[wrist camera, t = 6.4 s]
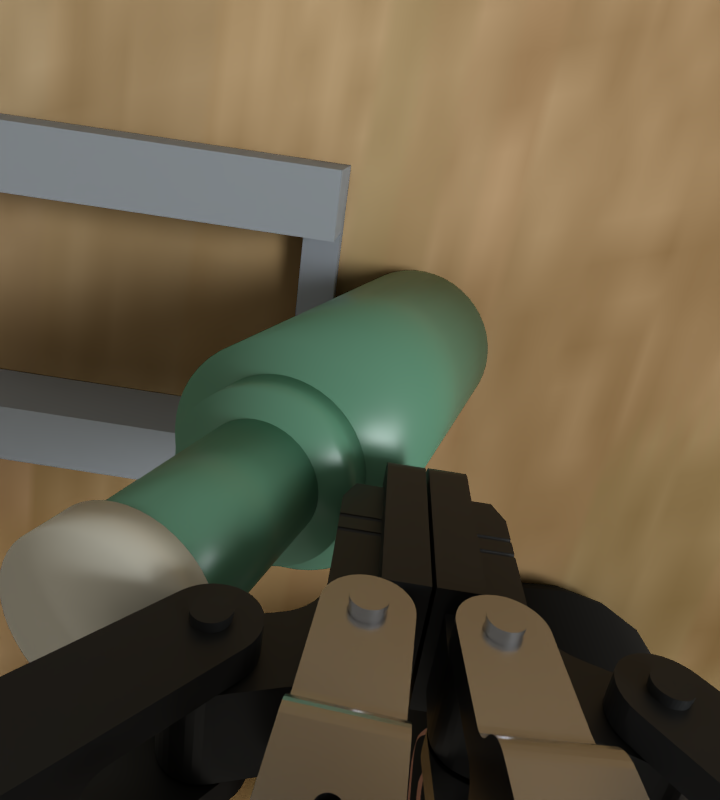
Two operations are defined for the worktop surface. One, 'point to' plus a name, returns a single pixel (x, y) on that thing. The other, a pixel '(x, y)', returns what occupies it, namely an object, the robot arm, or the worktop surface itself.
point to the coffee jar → (574, 634)
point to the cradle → (162, 196)
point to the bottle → (258, 459)
